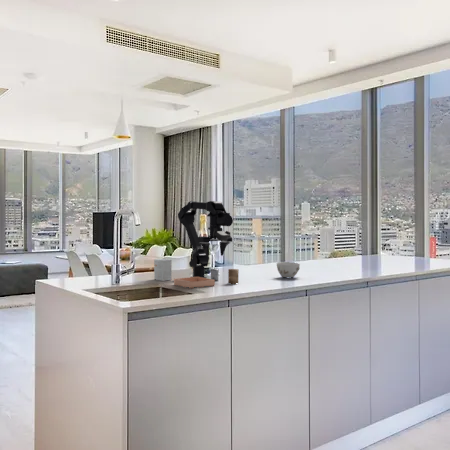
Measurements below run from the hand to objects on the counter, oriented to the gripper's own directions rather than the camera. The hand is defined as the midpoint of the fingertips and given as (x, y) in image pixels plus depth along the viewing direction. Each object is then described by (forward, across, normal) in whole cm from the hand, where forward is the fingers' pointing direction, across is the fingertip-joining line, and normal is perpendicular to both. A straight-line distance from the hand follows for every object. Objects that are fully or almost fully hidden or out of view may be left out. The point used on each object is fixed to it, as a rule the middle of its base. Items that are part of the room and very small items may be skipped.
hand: (214, 256), depth 266 cm
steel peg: (+13, 0, 0) cm, 13 cm away
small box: (+13, -20, +18) cm, 30 cm away
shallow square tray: (+13, -18, -8) cm, 23 cm away
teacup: (+13, +42, -12) cm, 46 cm away
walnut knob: (+13, +2, -13) cm, 18 cm away
